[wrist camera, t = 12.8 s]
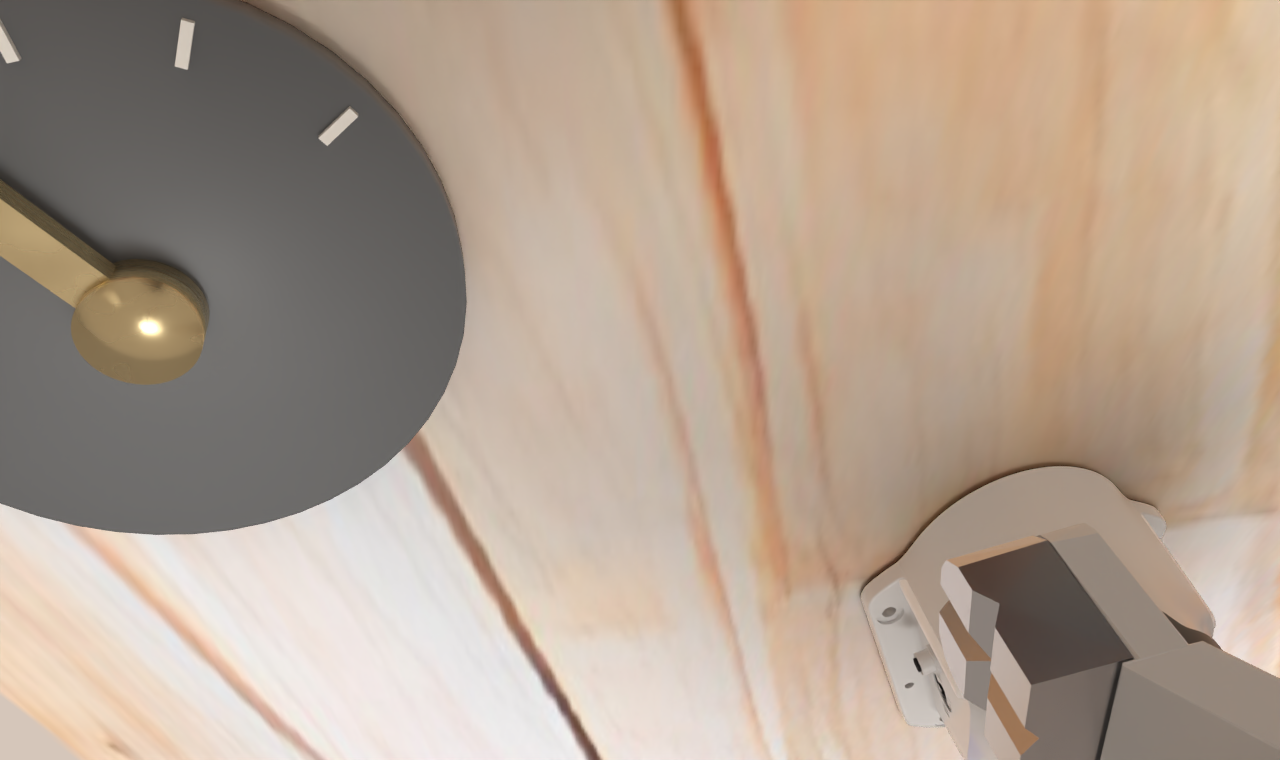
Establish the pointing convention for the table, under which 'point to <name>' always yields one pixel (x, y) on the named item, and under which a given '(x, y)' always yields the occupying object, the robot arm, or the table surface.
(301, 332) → the dial plate
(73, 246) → the brass lever
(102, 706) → the table surface
